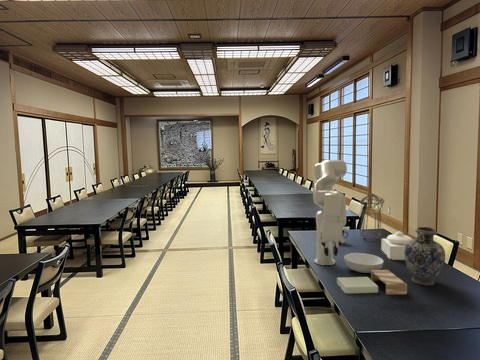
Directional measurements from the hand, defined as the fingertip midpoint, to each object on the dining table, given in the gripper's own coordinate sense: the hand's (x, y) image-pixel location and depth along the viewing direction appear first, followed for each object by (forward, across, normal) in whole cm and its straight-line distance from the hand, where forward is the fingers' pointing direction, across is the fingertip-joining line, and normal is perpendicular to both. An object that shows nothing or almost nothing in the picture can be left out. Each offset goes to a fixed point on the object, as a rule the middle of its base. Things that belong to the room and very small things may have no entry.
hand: (330, 254), depth 168 cm
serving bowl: (+18, -26, -23) cm, 39 cm away
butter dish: (+18, -60, -46) cm, 77 cm away
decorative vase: (+17, -50, -5) cm, 54 cm away
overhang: (+17, -28, 0) cm, 33 cm away
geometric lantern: (+17, -56, -81) cm, 100 cm away
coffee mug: (+17, -32, -77) cm, 85 cm away
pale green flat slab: (+17, -14, 0) cm, 22 cm away
